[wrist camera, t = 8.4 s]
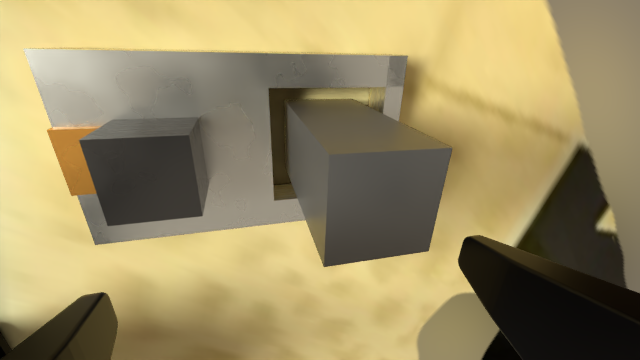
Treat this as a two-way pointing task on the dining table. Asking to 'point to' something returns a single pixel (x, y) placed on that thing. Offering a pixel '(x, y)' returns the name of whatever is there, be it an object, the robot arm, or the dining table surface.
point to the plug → (362, 179)
